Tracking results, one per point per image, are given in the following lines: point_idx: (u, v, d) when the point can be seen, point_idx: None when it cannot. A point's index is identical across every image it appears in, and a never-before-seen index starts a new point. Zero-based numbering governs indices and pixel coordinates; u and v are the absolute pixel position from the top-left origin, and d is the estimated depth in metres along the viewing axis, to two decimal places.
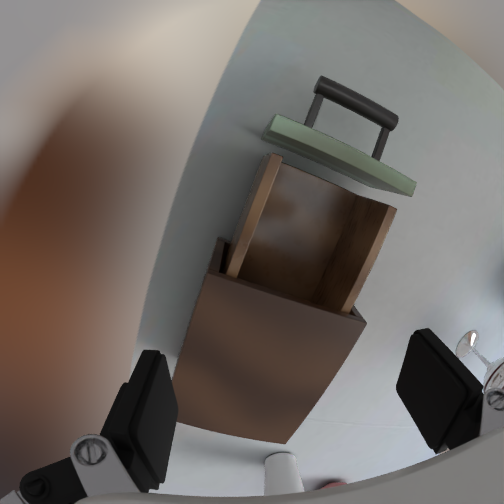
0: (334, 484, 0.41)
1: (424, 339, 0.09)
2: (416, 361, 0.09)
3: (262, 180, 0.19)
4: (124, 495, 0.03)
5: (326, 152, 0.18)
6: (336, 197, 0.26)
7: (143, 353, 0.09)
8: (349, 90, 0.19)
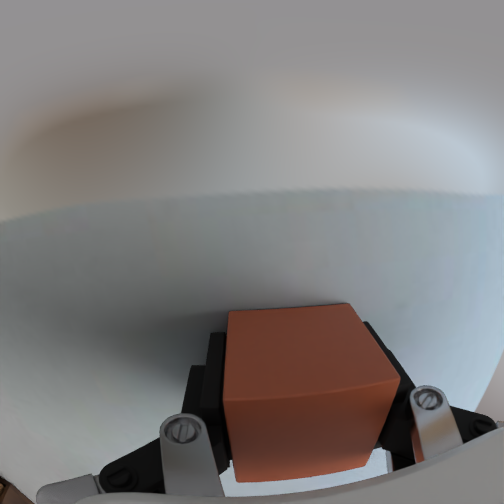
0: None
1: None
2: None
3: None
4: (124, 495, 0.03)
5: None
6: None
7: (212, 335, 0.10)
8: None
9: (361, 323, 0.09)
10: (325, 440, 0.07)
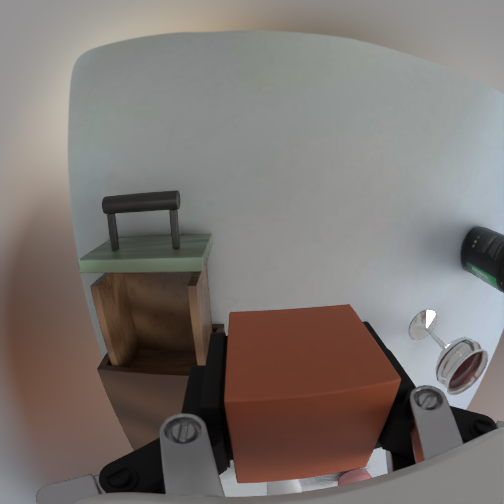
0: (349, 472, 0.45)
1: None
2: None
3: (95, 305, 0.24)
4: (124, 495, 0.03)
5: (118, 272, 0.23)
6: None
7: (212, 335, 0.10)
8: (125, 199, 0.23)
9: (362, 324, 0.09)
10: (326, 441, 0.07)
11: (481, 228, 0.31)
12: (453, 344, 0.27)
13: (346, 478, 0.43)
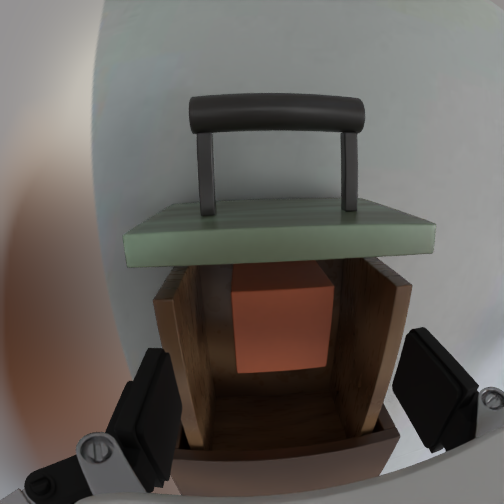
0: None
1: (420, 338, 0.09)
2: (412, 360, 0.09)
3: (163, 344, 0.11)
4: (124, 495, 0.03)
5: (241, 262, 0.10)
6: None
7: (148, 351, 0.09)
8: (250, 98, 0.10)
9: (316, 264, 0.15)
10: (292, 331, 0.13)
11: None
12: None
13: None
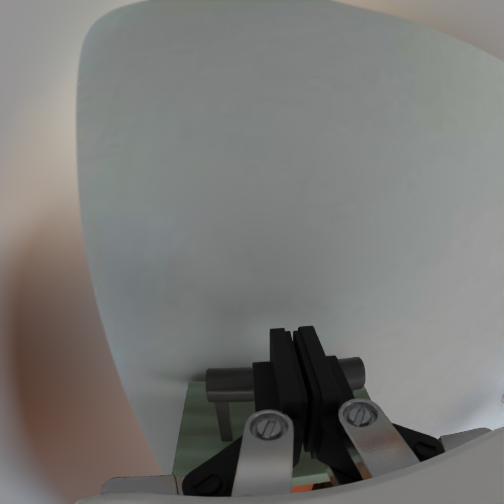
0: None
1: (304, 336, 0.10)
2: None
3: None
4: (124, 495, 0.03)
5: None
6: None
7: (272, 331, 0.10)
8: None
9: None
10: None
11: None
12: None
13: None
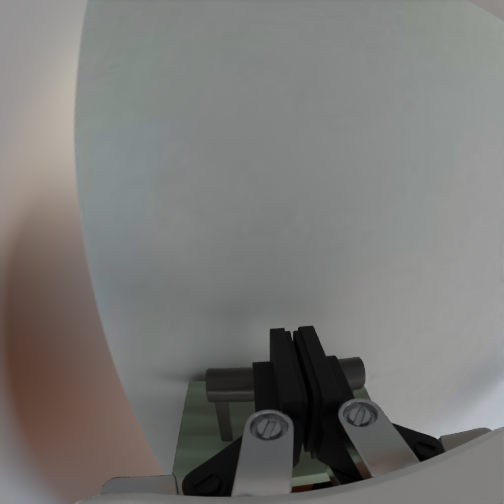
0: None
1: (304, 336, 0.10)
2: None
3: None
4: (124, 495, 0.03)
5: None
6: None
7: (272, 331, 0.10)
8: None
9: None
10: None
11: None
12: None
13: None
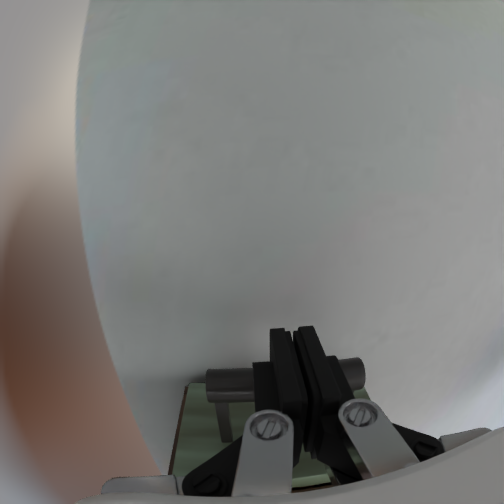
0: None
1: (304, 336, 0.10)
2: None
3: None
4: (124, 495, 0.03)
5: None
6: None
7: (272, 331, 0.10)
8: None
9: None
10: None
11: None
12: None
13: None
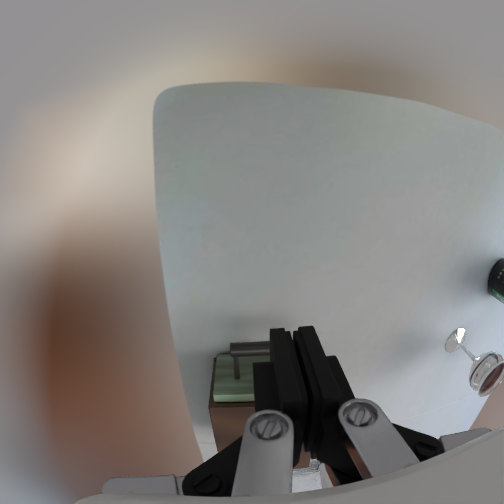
0: None
1: (304, 336, 0.10)
2: None
3: None
4: (123, 494, 0.03)
5: (249, 400, 0.30)
6: None
7: (273, 331, 0.10)
8: (252, 349, 0.30)
9: None
10: None
11: None
12: (483, 357, 0.30)
13: None
